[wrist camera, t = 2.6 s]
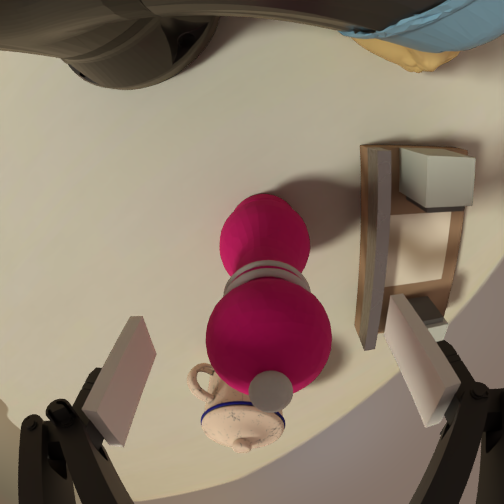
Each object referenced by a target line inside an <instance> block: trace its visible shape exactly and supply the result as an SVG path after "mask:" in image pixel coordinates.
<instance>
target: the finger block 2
mask: <svg viewBox="0 0 504 504" xmlns="http://www.w3.org/2000/svg"><path fill="white" fill-rule="evenodd" d="M407 300H408V301H409V303H410V304H411V305H412V307H413V308H414V310H415V311H416V313H417V314H418V316H419V317H420V318H421V320H422V321H423V323H424V324H425V326H426V327H427V329H428V330H429V332H430V333H431V335H432V336H433V338H434V339H435V341H436V342H437V341H442V340H444V336H445V333H446V330H447V327H448V323H447V321H446V320H445V319H444V317H443V315H442V314H441V313H440V311H439V310H438V309H437V307H436V306H435V305H434V304H433V302H432V301H431V300H430V298H429V297H428V296H423V297H417V298H411V299H407ZM384 332H385V331H384Z"/></svg>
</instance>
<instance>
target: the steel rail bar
mask: <svg viewBox="0 0 504 504" xmlns="http://www.w3.org/2000/svg"><path fill="white" fill-rule="evenodd" d="M367 154H368V230H367V253H366V269H365V282H364V294H363V304H362V314H361V323H360V331H359V338H360V341H361V343H362V346H363V349H364V351H366V350H372V349H375V346H376V340H377V334H378V328H379V322H380V316H381V309H382V302H383V294H384V286H385V278H386V268H387V258H388V246H389V232H390V213H391V151H390V150H387V149H384V148H380V147H368V148H367Z"/></svg>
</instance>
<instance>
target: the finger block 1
mask: <svg viewBox="0 0 504 504" xmlns="http://www.w3.org/2000/svg"><path fill="white" fill-rule="evenodd" d="M399 160H400V173H399V192H401V193H402V194H404V195H406V199H407V200H408V201H410V202H411V203H413V204H414V205H416V206H417V207H419V208H420V209H422V210H423V211H425V212H426V213H436V212H455V211H464V208H465V206H472V204H473V194H474V181H475V161H476V158H474V157H470V156H467V155H464V154H460V153H457V152H453V151H449V150H446V149H432V148H399Z"/></svg>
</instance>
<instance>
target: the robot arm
mask: <svg viewBox="0 0 504 504" xmlns="http://www.w3.org/2000/svg"><path fill="white" fill-rule="evenodd" d="M220 16H239V17H253V18H264V19H273V20H281V21H289V22H295V23H302V24H307V25H313V26H318V27H323V28H328V29H333V30H337V31H338V32H340V33H341V34H342V35H345V36H348V37H352V38H357V39H379V40H383V41H387V42H391V43H394V44H398V45H401V46H404V47H408V48H411V49H414V50H418V51H422V52H429V53H442V52H445V51H457V52H458V51H464V50H469V49H472V48H475V47H477V46H480V45H483V44H486V43H488V42H490V41H492V40H494V39H496V38H498V37H499V36H501V35H502V34H504V0H0V50H2V51H13V52H22V53H30V54H37V55H44V56H50V57H56V58H61V59H62V60H63V61H64V62H65V63H66V64H68V65H69V67H70V68H71V69H72V70H73V71H74V72H75V73H76V74H77V75H78V76H79V77H81V78H82V79H84V80H85V81H87V82H89V83H91V84H94V85H97V86H100V87H104V88H111V89H118V90H133V89H140V88H145V87H149V86H152V85H155V84H158V83H160V82H162V81H165V80H167V79H169V78H170V77H172V76H174V75H176V74H177V73H179V72H180V71H182V70H183V69H184V68H186V67H187V66H188V65H189V64H190V63H192V62H193V61H194V60H195V59H196V58H197V57H198V56H199V55H200V53H201V52H202V51H203V50H204V49H205V47H206V46H207V45H208V43H209V42H210V40H211V38H212V36H213V35H214V32H215V30H216V28H217V25H218V22H219V19H220ZM384 337H385V339H386V341H387V343H388V345H389V347H390V350H391V352H392V354H393V356H394V358H395V360H396V362H397V364H398V366H399V368H400V371H401V373H402V374H403V377H404V379H405V382H406V384H407V386H408V388H409V390H410V393H411V395H412V397H413V399H414V402H415V404H416V406H417V409H418V411H419V414H420V416H421V418H422V421H423V423H424V426H425V427H429V426H432V425H435V424H438V423H440V422H441V420H442V418H443V417H444V416H445V418H446V420H447V423H446V424H445V426H444V428H443V429H442V431H441V432H440V435H441V437H440V440H439V442H438V445H437V447H436V449H435V452H434V454H433V456H432V459H431V461H430V463H429V465H428V467H427V470H426V472H425V474H424V476H423V478H422V480H421V482H420V484H419V486H418V488H417V490H416V492H415V494H414V495H413V497H412V499H411V501H410V503H409V504H459V501H460V499H461V496H462V494H463V491H464V489H465V486H466V484H467V481H468V479H469V476H470V473H471V470H472V467H473V464H474V461H475V458H476V455H477V451H478V448H479V445H480V441H481V461H480V474H479V483H478V493H477V499H476V504H504V388H501V389H489V388H488V387H487V386H486V385H485V384H483V383H480V382H475V381H474V379H473V377H472V376H471V374H470V372H469V371H468V369H467V368H466V366H465V365H464V363H463V362H462V361H461V359H460V357H459V355H457V353H456V351H455V349H454V348H453V347H452V345H450V344H449V343H448V342H446V341H445V340H442V341H437V342H436V341H435V339H434V338H433V336H432V335H431V333H430V332H429V330H428V329H427V327H426V326H425V324H424V323H423V321H422V320H421V318H420V317H419V316H418V314H417V313H416V311H415V310H414V308H413V307H412V305H411V304H410V303H409V301H408V300H407V298H406V297H405V296H404V294H396V295H390V301H389V308H388V314H387V320H386V326H385V332H384ZM155 357H156V351H155V349H154V346H153V343H152V341H151V338H150V335H149V333H148V330H147V327H146V324H145V322H144V319H143V316H131V317H130V318H129V320H128V322H127V323H126V325H125V327H124V329H123V330H122V332H121V334H120V336H119V338H118V339H117V341H116V343H115V345H114V347H113V349H112V351H111V352H110V354H109V356H108V358H107V360H106V362H105V364H104V366H103V368H95V369H94V370H93V371H92V372H91V373H90V374H89V376H88V377H87V379H86V381H85V383H84V385H83V387H82V390H81V391H80V393H79V395H78V396H77V398H76V400H75V402H74V404H73V406H71V404H70V403H69V402H68V401H67V400H65V399H57V400H54V401H53V402H51V403H50V404H49V405H48V407H47V409H46V416H47V417H48V418H49V419H50V421H43V420H42V418H41V417H40V416H38V415H36V414H32V415H30V416H28V417H26V418H25V419H24V421H23V422H22V425H21V433H20V446H19V466H18V496H19V504H76V502H75V495H74V487H73V483H74V485H75V488H76V490H77V493H78V495H79V497H80V500H81V502H82V504H134V503H133V501H132V499H131V498H130V496H129V494H128V492H127V491H126V489H125V487H124V485H123V483H122V482H121V480H120V478H119V476H118V474H117V472H116V470H115V468H114V466H113V464H112V462H111V460H110V458H109V456H108V454H107V452H106V450H105V448H104V447H103V445H102V442H103V440H104V439H105V440H106V441H107V443H108V444H109V445H112V446H118V447H124V445H125V442H126V439H127V436H128V433H129V430H130V427H131V424H132V421H133V418H134V415H135V412H136V409H137V406H138V403H139V401H140V398H141V395H142V392H143V389H144V387H145V384H146V381H147V378H148V376H149V373H150V370H151V367H152V365H153V362H154V359H155Z"/></svg>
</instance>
